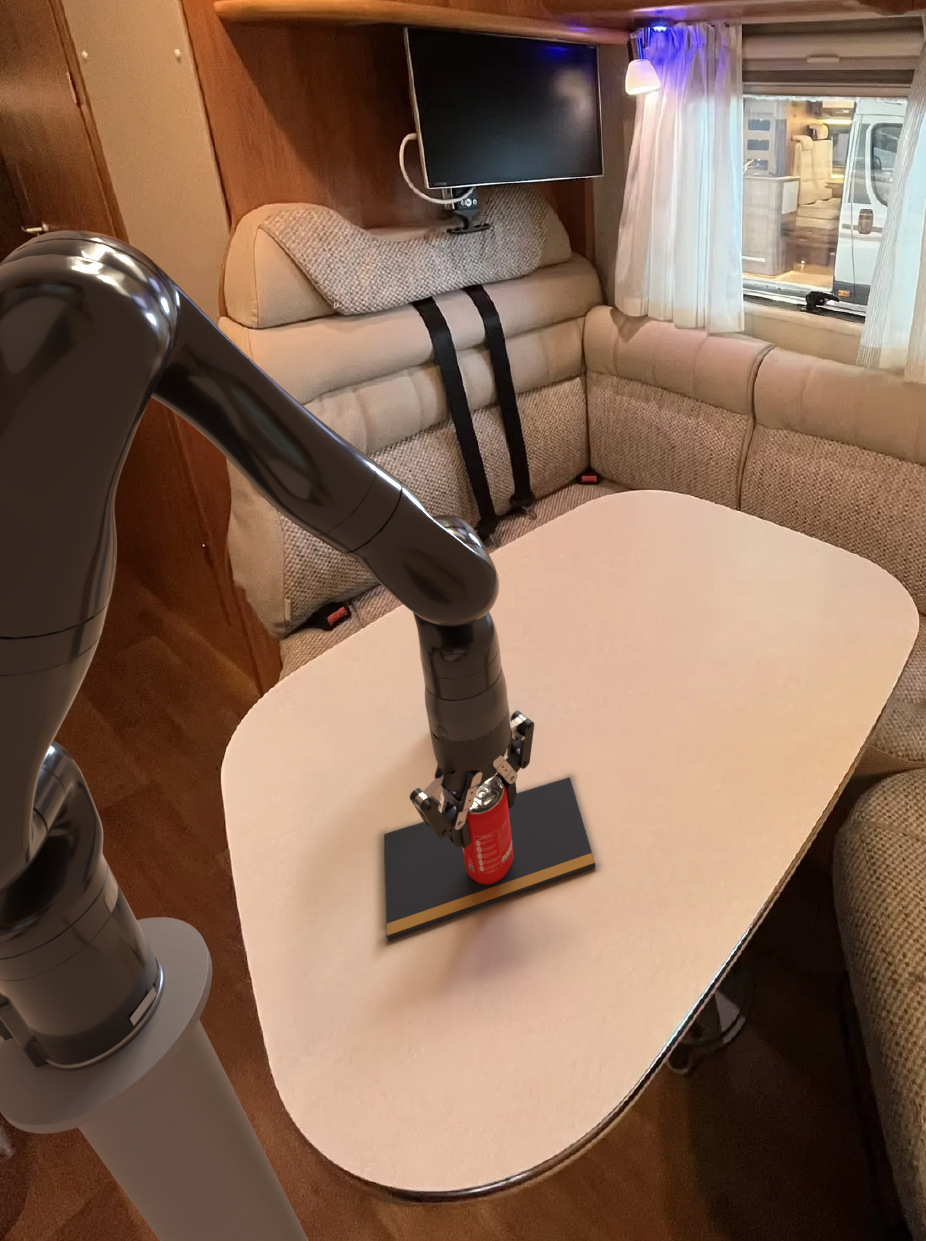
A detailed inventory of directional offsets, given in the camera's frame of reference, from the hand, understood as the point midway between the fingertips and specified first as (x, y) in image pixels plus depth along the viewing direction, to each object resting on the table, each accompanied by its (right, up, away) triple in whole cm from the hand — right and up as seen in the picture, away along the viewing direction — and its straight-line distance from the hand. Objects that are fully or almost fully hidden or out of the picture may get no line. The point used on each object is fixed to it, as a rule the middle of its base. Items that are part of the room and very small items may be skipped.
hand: (484, 821), depth 78 cm
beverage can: (0, -7, +3) cm, 8 cm away
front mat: (-1, -6, +5) cm, 8 cm away
